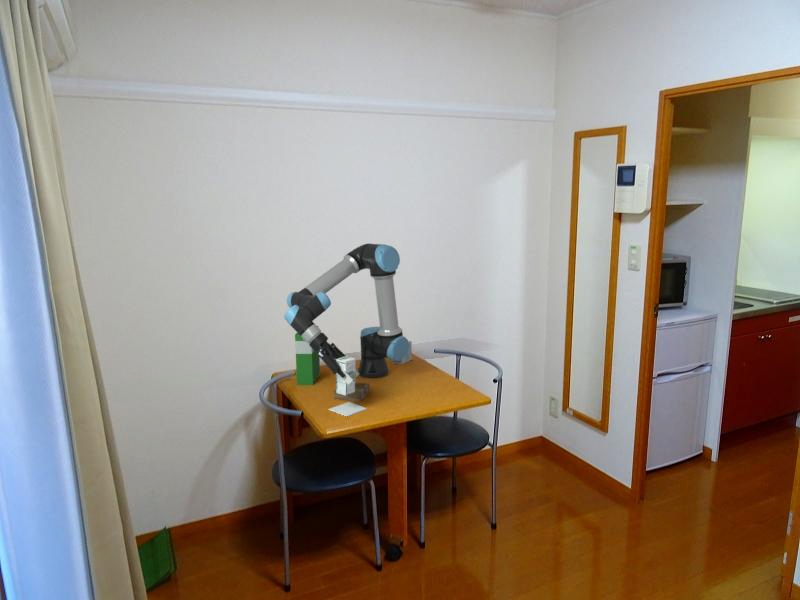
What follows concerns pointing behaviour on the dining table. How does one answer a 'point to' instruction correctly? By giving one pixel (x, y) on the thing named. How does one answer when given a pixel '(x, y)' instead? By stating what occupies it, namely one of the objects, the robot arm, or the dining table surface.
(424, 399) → the dining table surface
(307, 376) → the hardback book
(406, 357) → the skincare box
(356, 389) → the walnut crate
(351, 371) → the syrup box
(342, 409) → the grey mat
